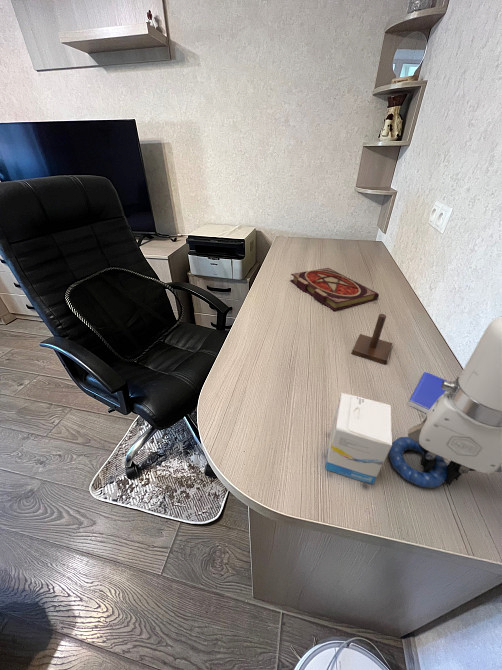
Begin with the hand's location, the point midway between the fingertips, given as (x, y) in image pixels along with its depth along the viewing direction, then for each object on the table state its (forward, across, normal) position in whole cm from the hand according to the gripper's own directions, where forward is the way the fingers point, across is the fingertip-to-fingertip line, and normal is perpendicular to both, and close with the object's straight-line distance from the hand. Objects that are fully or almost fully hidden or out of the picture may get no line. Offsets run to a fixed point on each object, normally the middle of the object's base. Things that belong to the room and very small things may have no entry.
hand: (436, 472), depth 49 cm
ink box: (+1, -14, -4) cm, 14 cm away
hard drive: (+1, -1, +20) cm, 20 cm away
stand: (0, -17, +31) cm, 35 cm away
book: (0, -39, +63) cm, 74 cm away
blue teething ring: (-1, -3, 0) cm, 3 cm away
